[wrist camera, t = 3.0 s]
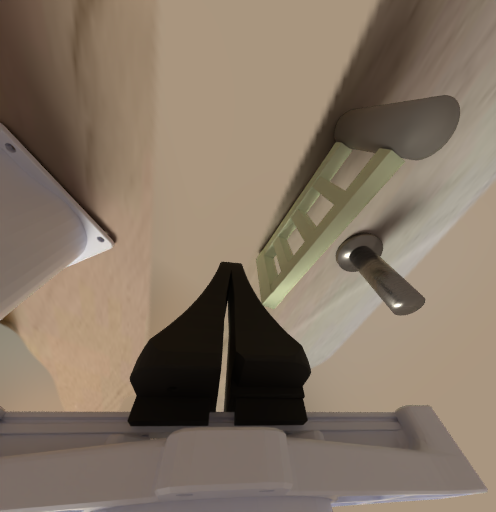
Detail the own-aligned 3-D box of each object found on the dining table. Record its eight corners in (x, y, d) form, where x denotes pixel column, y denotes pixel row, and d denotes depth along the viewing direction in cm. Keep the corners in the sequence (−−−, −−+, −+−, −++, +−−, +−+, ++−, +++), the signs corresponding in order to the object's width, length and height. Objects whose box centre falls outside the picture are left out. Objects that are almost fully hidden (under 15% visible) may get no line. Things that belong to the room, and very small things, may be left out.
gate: (350, 101, 11) (439, 81, 6) (373, 121, 12) (471, 116, 7) (250, 255, 17) (255, 307, 12) (269, 263, 18) (281, 315, 13)
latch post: (333, 242, 17) (376, 294, 12) (379, 226, 16) (448, 275, 11) (338, 273, 19) (376, 329, 14) (379, 260, 18) (436, 315, 13)
